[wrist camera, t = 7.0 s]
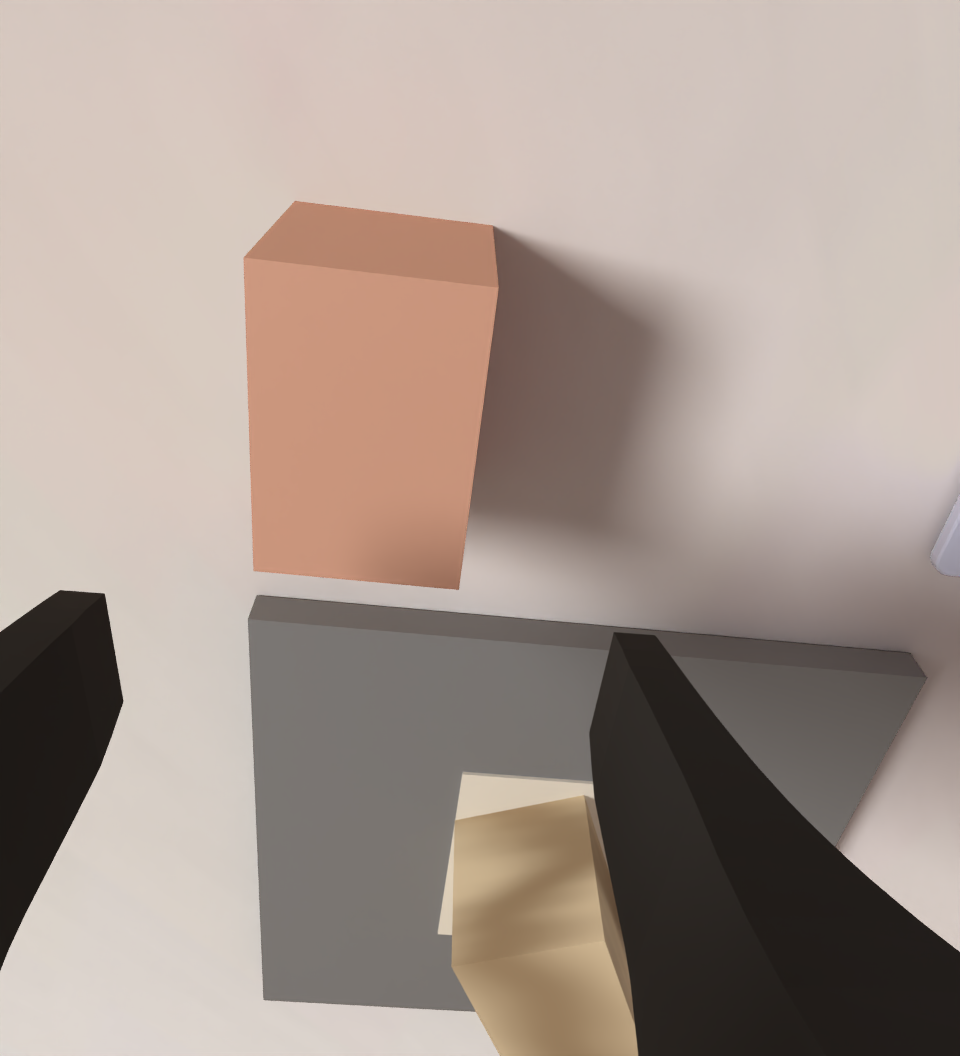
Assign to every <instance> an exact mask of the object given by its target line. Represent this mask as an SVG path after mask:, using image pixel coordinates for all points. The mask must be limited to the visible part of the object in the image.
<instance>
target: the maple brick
mask: <svg viewBox="0 0 960 1056" xmlns="http://www.w3.org/2000/svg"><path fill="white" fill-rule="evenodd" d="M451 967H452V969H453V971H454V972H455V974H456V976H457V978H458V980H459V981H460V983H461V985H462V987H463V989H464V991H465V992H466V994H467V996H468V998H469V1000H470V1002H471V1003H472V1005H473V1007H474V1009H475V1011H476V1013H477V1014H478V1016H479V1018H480V1020H481V1022H482V1024H483V1025H484V1027H485V1029H486V1031H487V1033H488V1035H489V1036H490V1038H491V1040H492V1042H493V1044H494V1046H495V1047H496V1049H497V1051H498V1053H499V1055H500V1056H638V1048H637V1039H636V1030H635V1021H634V1012H633V1002H632V993H631V984H630V976H629V970H628V964H627V958H626V952H625V946H624V941H623V936H622V931H621V926H620V922H619V917H618V912H617V907H616V902H615V897H614V893H613V888H612V883H611V878H610V873H609V870H608V867H607V864H606V861H605V858H604V855H603V851H602V848H601V845H600V842H599V839H598V836H597V833H596V830H595V827H594V824H593V821H592V818H591V815H590V812H589V809H588V806H587V802H586V799H585V796H584V795H582V796H577V797H572V798H567V799H561V800H556V801H551V802H546V803H541V804H536V805H531V806H526V807H520V808H515V809H510V810H505V811H500V812H495V813H490V814H485V815H479V816H474V817H469V818H464V819H459V820H455V827H454V873H453V918H452V964H451Z"/></svg>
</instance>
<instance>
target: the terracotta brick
mask: <svg viewBox="0 0 960 1056" xmlns="http://www.w3.org/2000/svg"><path fill="white" fill-rule="evenodd" d="M244 284H245V315H246V347H247V378H248V409H249V440H250V472H251V503H252V534H253V566H254V571H260V572H271V573H282V574H293V575H304V576H314V577H325V578H336V579H347V580H358V581H369V582H380V583H391V584H402V585H412V586H423V587H434V588H445V589H456V590H459V584H460V576H461V569H462V561H463V554H464V546H465V538H466V531H467V523H468V516H469V508H470V501H471V493H472V486H473V478H474V471H475V463H476V455H477V448H478V440H479V433H480V425H481V418H482V410H483V403H484V395H485V387H486V380H487V372H488V365H489V357H490V350H491V342H492V335H493V327H494V320H495V312H496V304H497V297H498V289H499V286H498V275H497V265H496V254H495V244H494V233H493V226H492V225H484V224H476V223H468V222H460V221H452V220H444V219H436V218H428V217H420V216H412V215H404V214H396V213H387V212H379V211H371V210H363V209H355V208H347V207H339V206H331V205H323V204H315V203H307V202H299V201H295V202H294V203H293V204H292V205H291V206H290V207H289V208H288V209H287V210H286V211H285V213H284V214H283V215H282V216H281V217H280V218H279V219H278V220H277V221H276V222H275V224H274V225H273V226H272V227H271V228H270V229H269V230H268V231H267V232H266V234H265V235H264V236H263V237H262V238H261V239H260V240H259V241H258V242H257V243H256V245H255V246H254V247H253V248H252V249H251V250H250V251H249V252H248V253H247V254H246V256H245V257H244Z"/></svg>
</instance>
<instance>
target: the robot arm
mask: <svg viewBox="0 0 960 1056" xmlns="http://www.w3.org/2000/svg"><path fill="white" fill-rule="evenodd" d="M930 560H931V563H932V565H933V566H934V567H935V568H936V569H937V570H938V571H939V572H940V573H941V574H943V575H946V576H954V577H960V495H959V497H958V499H957V501H956V503H955V505H954V507H953V509H952V511H951V513H950V515H949V517H948V519H947V521H946V523H945V525H944V527H943V529H942V531H941V533H940V535H939V537H938V539H937V541H936V543H935V545H934V547H933V549H932V551H931V555H930ZM122 704H123V696H122V691H121V685H120V679H119V673H118V668H117V662H116V656H115V650H114V644H113V639H112V633H111V627H110V621H109V616H108V610H107V604H106V598H105V594H102V593H89V592H76V591H63V590H60V591H58V592H57V593H55V594H54V595H52V596H51V597H49V598H48V599H46V600H45V601H43V602H42V603H40V604H39V605H37V606H36V607H35V608H33V609H32V610H30V611H29V612H28V613H26V614H25V615H23V616H22V617H21V618H19V619H18V620H16V621H15V622H14V623H12V624H11V625H9V626H8V627H7V628H5V629H4V630H3V631H1V632H0V970H1V967H2V965H3V962H4V960H5V957H6V955H7V952H8V950H9V948H10V945H11V943H12V941H13V939H14V937H15V935H16V933H17V930H18V928H19V926H20V924H21V922H22V920H23V917H24V915H25V913H26V911H27V909H28V908H29V906H30V904H31V902H32V900H33V898H34V896H35V894H36V892H37V890H38V888H39V886H40V884H41V882H42V880H43V878H44V876H45V875H46V873H47V871H48V869H49V867H50V865H51V863H52V861H53V859H54V857H55V855H56V853H57V851H58V849H59V847H60V845H61V843H62V842H63V840H64V838H65V836H66V834H67V832H68V830H69V828H70V826H71V824H72V822H73V820H74V818H75V816H76V814H77V812H78V810H79V808H80V806H81V804H82V802H83V800H84V798H85V797H86V795H87V793H88V791H89V789H90V787H91V785H92V783H93V781H94V779H95V777H96V774H97V772H98V770H99V768H100V766H101V764H102V761H103V758H104V755H105V753H106V750H107V747H108V745H109V742H110V739H111V737H112V734H113V731H114V728H115V725H116V722H117V719H118V716H119V713H120V710H121V707H122ZM589 738H590V752H591V766H592V778H593V789H594V799H595V804H596V809H597V814H598V819H599V824H600V829H601V834H602V839H603V844H604V849H605V854H606V859H607V864H608V869H609V873H610V878H611V883H612V888H613V893H614V897H615V902H616V907H617V912H618V917H619V922H620V926H621V931H622V936H623V941H624V946H625V952H626V958H627V964H628V970H629V976H630V984H631V993H632V1002H633V1012H634V1021H635V1030H636V1039H637V1048H638V1056H960V952H959V951H958V950H956V949H955V948H954V947H952V946H951V945H950V944H949V943H947V942H946V941H945V940H944V939H942V938H941V937H940V936H938V935H937V934H936V933H935V932H933V931H932V930H931V929H929V928H928V927H927V926H926V925H924V924H923V923H922V922H921V921H919V920H918V919H917V918H916V917H914V916H913V915H912V914H911V913H910V912H909V911H907V910H906V909H905V908H904V907H903V906H901V905H900V904H899V903H898V902H897V901H895V900H894V899H893V898H892V897H891V896H889V895H888V894H887V893H886V892H885V891H884V890H882V889H881V888H880V887H879V886H878V885H876V884H875V883H874V882H873V881H872V880H871V879H869V878H868V877H867V876H866V875H865V874H864V873H863V872H862V871H860V870H859V869H858V868H857V867H856V866H855V865H854V864H853V863H851V862H850V861H849V860H848V859H847V858H846V857H845V856H844V855H843V854H842V853H841V852H840V851H839V850H838V849H837V848H836V847H835V846H834V845H833V844H831V843H830V842H829V841H828V840H827V839H826V838H825V837H824V836H823V835H822V834H821V833H820V832H819V831H818V830H817V829H816V828H815V827H814V826H813V825H812V824H811V823H810V822H809V821H808V820H807V819H806V818H805V817H804V816H803V815H802V814H801V813H800V812H799V811H798V810H797V809H796V808H795V807H794V806H793V805H792V804H791V803H790V802H789V801H788V800H787V799H786V798H785V797H784V795H783V794H782V793H781V792H780V791H779V790H778V789H777V788H776V787H775V785H774V784H773V783H772V782H771V781H770V780H769V779H768V778H767V777H766V776H765V774H764V773H763V772H762V771H761V770H760V769H759V768H758V767H757V765H756V764H755V763H754V762H753V761H752V759H751V758H750V757H749V756H748V755H747V754H746V752H745V751H744V750H743V749H742V747H741V746H740V745H739V744H738V743H737V741H736V740H735V739H734V738H733V736H732V735H731V734H730V733H729V731H728V730H727V729H726V728H725V727H724V725H723V724H722V723H721V722H720V720H719V719H718V718H717V717H716V715H715V714H714V713H713V711H712V710H711V709H710V708H709V706H708V705H707V704H706V702H705V701H704V700H703V698H702V697H701V696H700V694H699V693H698V692H697V690H696V689H695V688H694V686H693V685H692V684H691V682H690V681H689V680H688V678H687V677H686V676H685V674H684V673H683V672H682V670H681V669H680V667H679V666H678V665H677V663H676V662H675V661H674V659H673V658H672V657H671V655H670V654H669V653H668V651H667V650H666V648H665V647H664V646H663V645H662V643H661V642H660V641H659V639H658V638H657V637H656V636H655V635H646V634H633V633H620V632H614V633H613V637H612V641H611V646H610V650H609V654H608V658H607V662H606V666H605V670H604V674H603V678H602V682H601V686H600V690H599V695H598V699H597V703H596V707H595V711H594V715H593V719H592V723H591V727H590V731H589Z"/></svg>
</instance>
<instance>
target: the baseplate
mask: <svg viewBox="0 0 960 1056" xmlns="http://www.w3.org/2000/svg"><path fill="white" fill-rule="evenodd" d="M248 631H249V656H250V680H251V705H252V729H253V754H254V778H255V803H256V827H257V851H258V876H259V900H260V925H261V949H262V974H263V998H264V1000H271V1001H289V1002H308V1003H326V1004H344V1005H362V1006H381V1007H399V1008H417V1009H435V1010H454V1011H472V1012H476V1011H475V1009H474V1007H473V1005H472V1003H471V1002H470V1000H469V998H468V996H467V994H466V992H465V991H464V989H463V987H462V985H461V983H460V981H459V980H458V978H457V976H456V974H455V972H454V971H453V969H452V967H451V964H452V918H453V873H454V827H455V820H459V819H464V818H469V817H474V816H479V815H485V814H490V813H495V812H500V811H505V810H510V809H515V808H520V807H526V806H531V805H536V804H541V803H546V802H551V801H556V800H561V799H567V798H572V797H577V796H582V795H584V796H585V799H586V802H587V806H588V809H589V812H590V815H591V818H592V821H593V824H594V827H595V830H596V833H597V836H598V839H599V842H600V845H601V848H602V851H603V855H604V858H605V861H606V864H607V859H606V854H605V849H604V844H603V839H602V834H601V829H600V824H599V819H598V814H597V809H596V804H595V799H594V789H593V778H592V766H591V752H590V738H589V731H590V727H591V723H592V719H593V715H594V711H595V707H596V703H597V699H598V695H599V690H600V686H601V682H602V678H603V674H604V670H605V666H606V662H607V658H608V654H609V650H610V646H611V641H612V637H613V633H614V632H620V633H633V634H646V635H655V636H656V637H657V638H658V639H659V641H660V642H661V643H662V645H663V646H664V647H665V648H666V650H667V651H668V653H669V654H670V655H671V657H672V658H673V659H674V661H675V662H676V663H677V665H678V666H679V667H680V669H681V670H682V672H683V673H684V674H685V676H686V677H687V678H688V680H689V681H690V682H691V684H692V685H693V686H694V688H695V689H696V690H697V692H698V693H699V694H700V696H701V697H702V698H703V700H704V701H705V702H706V704H707V705H708V706H709V708H710V709H711V710H712V711H713V713H714V714H715V715H716V717H717V718H718V719H719V720H720V722H721V723H722V724H723V725H724V727H725V728H726V729H727V730H728V731H729V733H730V734H731V735H732V736H733V738H734V739H735V740H736V741H737V743H738V744H739V745H740V746H741V747H742V749H743V750H744V751H745V752H746V754H747V755H748V756H749V757H750V758H751V759H752V761H753V762H754V763H755V764H756V765H757V767H758V768H759V769H760V770H761V771H762V772H763V773H764V774H765V776H766V777H767V778H768V779H769V780H770V781H771V782H772V783H773V784H774V785H775V787H776V788H777V789H778V790H779V791H780V792H781V793H782V794H783V795H784V797H785V798H786V799H787V800H788V801H789V802H790V803H791V804H792V805H793V806H794V807H795V808H796V809H797V810H798V811H799V812H800V813H801V814H802V815H803V816H804V817H805V818H806V819H807V820H808V821H809V822H810V823H811V824H812V825H813V826H814V827H815V828H816V829H817V830H818V831H819V832H820V833H821V834H822V835H823V836H824V837H825V838H826V839H827V840H828V841H829V842H830V843H831V844H833V845H834V846H836V844H837V842H838V840H839V839H840V837H841V835H842V833H843V831H844V829H845V828H846V826H847V824H848V822H849V820H850V818H851V817H852V815H853V813H854V811H855V809H856V807H857V806H858V804H859V802H860V800H861V798H862V796H863V795H864V793H865V791H866V789H867V787H868V785H869V784H870V782H871V780H872V778H873V776H874V774H875V773H876V771H877V769H878V767H879V765H880V763H881V762H882V760H883V758H884V756H885V754H886V752H887V751H888V749H889V747H890V745H891V743H892V741H893V740H894V738H895V736H896V734H897V732H898V730H899V729H900V727H901V725H902V723H903V721H904V719H905V718H906V716H907V714H908V712H909V710H910V708H911V707H912V705H913V703H914V701H915V699H916V697H917V695H918V694H919V692H920V690H921V688H922V686H923V684H924V683H925V681H926V679H927V677H926V675H925V674H924V672H923V671H922V670H921V668H920V667H919V665H918V664H917V662H916V661H915V659H914V658H913V656H912V655H911V653H903V652H892V651H881V650H869V649H858V648H847V647H835V646H824V645H813V644H801V643H790V642H779V641H767V640H756V639H745V638H733V637H722V636H711V635H700V634H688V633H677V632H666V631H654V630H643V629H632V628H620V627H609V626H598V625H586V624H575V623H564V622H552V621H541V620H530V619H518V618H507V617H496V616H484V615H473V614H462V613H450V612H439V611H428V610H417V609H405V608H394V607H383V606H371V605H360V604H349V603H337V602H326V601H315V600H303V599H292V598H281V597H269V596H258V595H257V596H256V599H255V601H254V604H253V607H252V610H251V612H250V615H249V618H248ZM607 867H608V864H607ZM608 870H609V869H608Z"/></svg>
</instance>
